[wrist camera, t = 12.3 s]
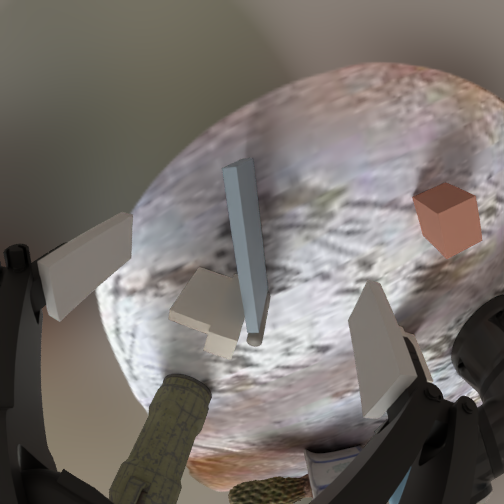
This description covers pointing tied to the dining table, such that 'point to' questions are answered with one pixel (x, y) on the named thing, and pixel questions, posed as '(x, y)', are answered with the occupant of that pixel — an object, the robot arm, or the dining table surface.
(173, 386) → the thermos
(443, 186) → the reddish brown block
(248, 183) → the door
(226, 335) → the doorframe
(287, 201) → the dining table surface
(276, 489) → the potted plant
